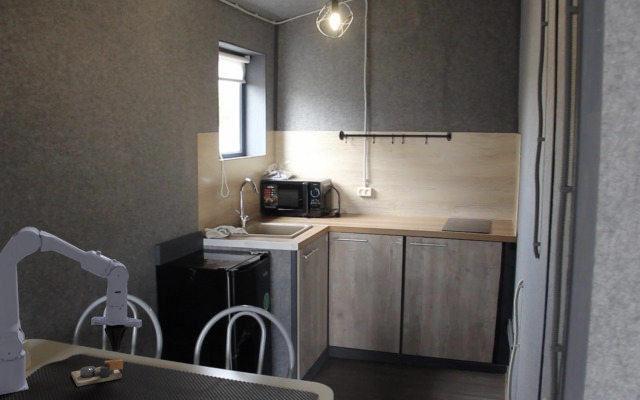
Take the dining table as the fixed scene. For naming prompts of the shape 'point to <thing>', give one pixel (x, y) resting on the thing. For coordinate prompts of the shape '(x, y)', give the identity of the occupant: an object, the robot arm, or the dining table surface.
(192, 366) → the dining table surface
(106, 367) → the post
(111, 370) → the crank
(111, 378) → the board
